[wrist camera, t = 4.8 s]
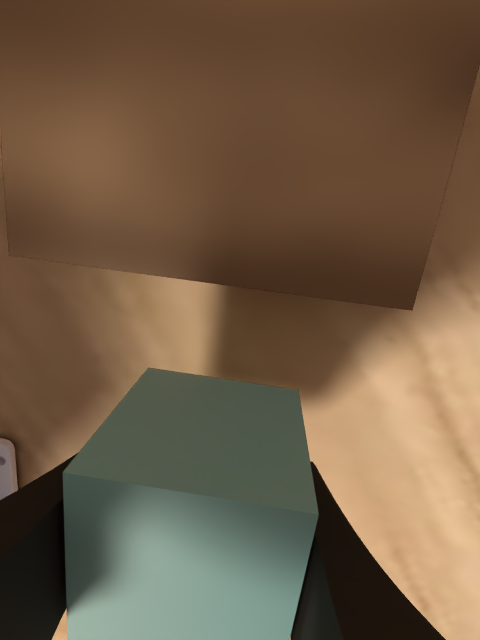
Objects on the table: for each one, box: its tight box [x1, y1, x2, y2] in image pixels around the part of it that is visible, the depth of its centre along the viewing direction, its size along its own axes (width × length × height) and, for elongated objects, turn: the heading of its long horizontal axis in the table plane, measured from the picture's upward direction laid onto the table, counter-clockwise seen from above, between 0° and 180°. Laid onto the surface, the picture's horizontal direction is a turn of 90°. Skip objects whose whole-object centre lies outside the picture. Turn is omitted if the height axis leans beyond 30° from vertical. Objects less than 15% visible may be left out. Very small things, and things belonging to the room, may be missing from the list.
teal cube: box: [63, 368, 319, 640], centre depth 10 cm, size 5×5×5 cm
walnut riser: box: [0, 0, 480, 310], centre depth 11 cm, size 13×13×3 cm
